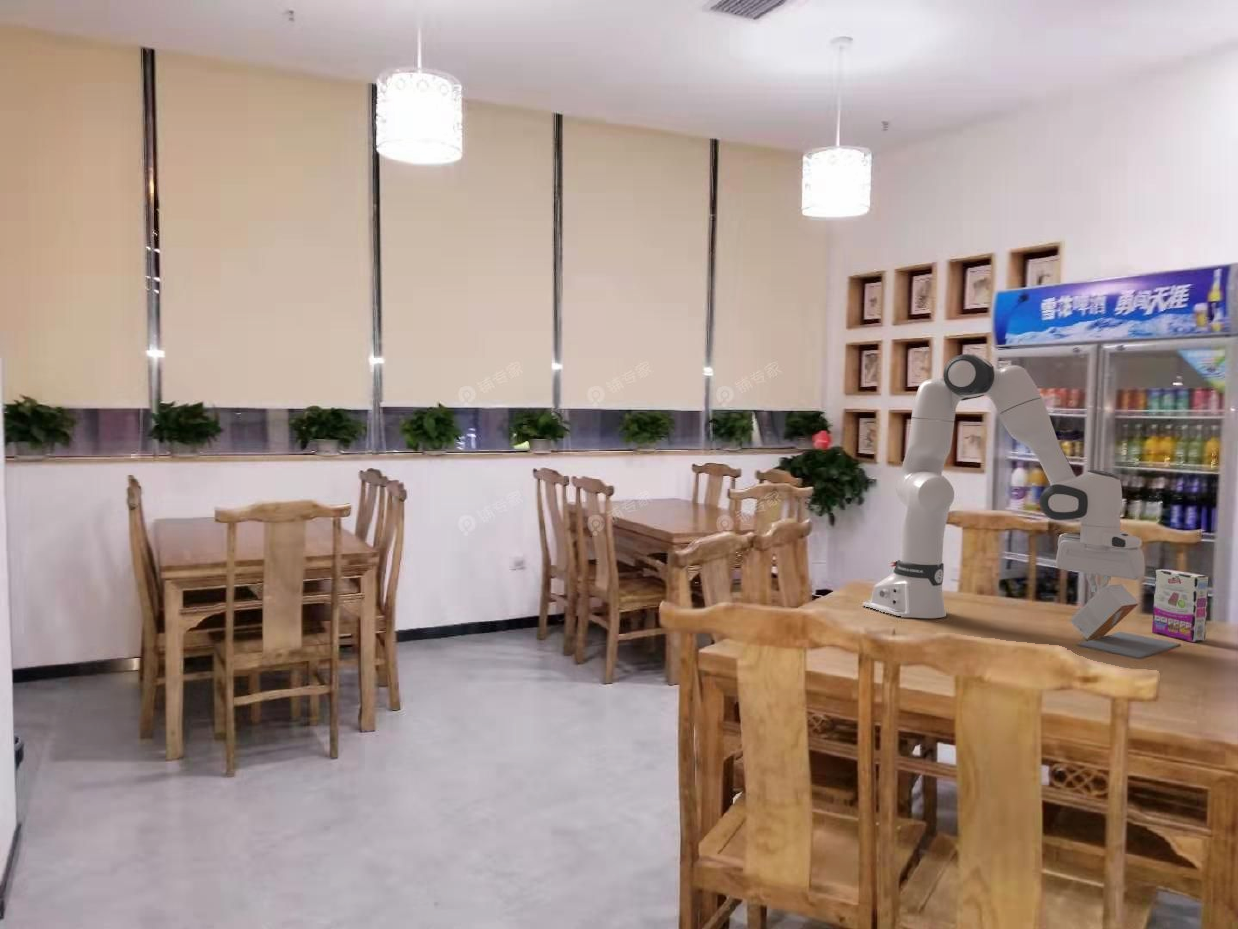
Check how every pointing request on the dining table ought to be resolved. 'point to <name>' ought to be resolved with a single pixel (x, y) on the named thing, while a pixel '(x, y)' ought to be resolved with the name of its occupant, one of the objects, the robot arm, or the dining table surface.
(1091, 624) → the small box
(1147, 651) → the mat
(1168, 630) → the candy bar box
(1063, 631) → the dining table surface
